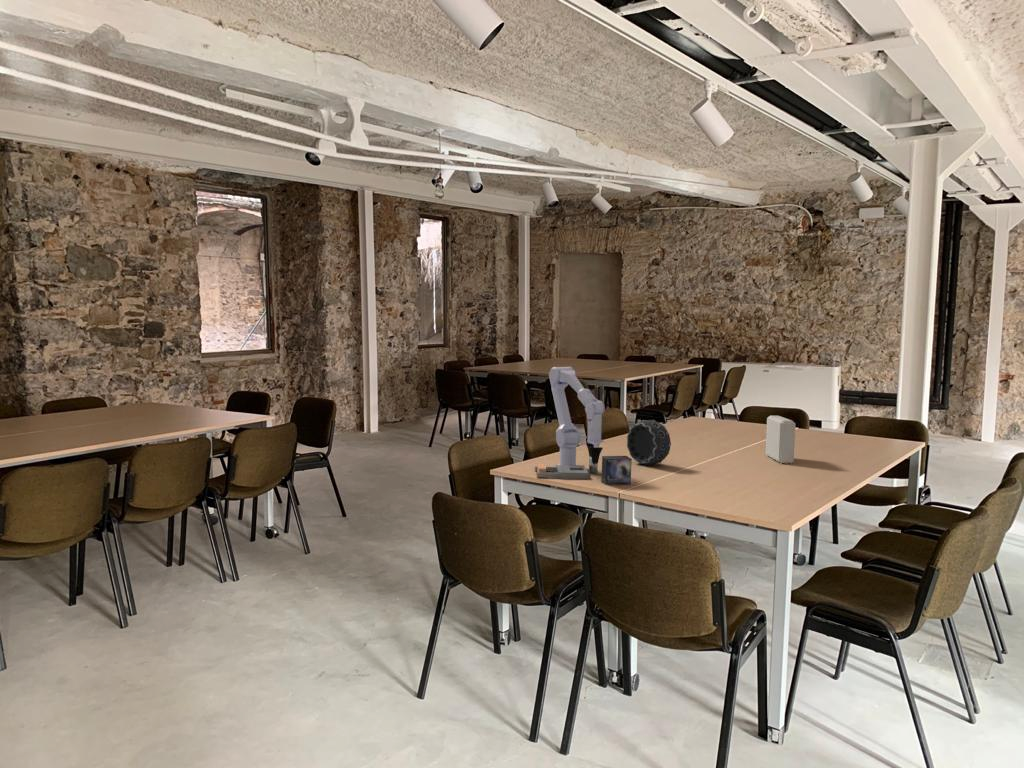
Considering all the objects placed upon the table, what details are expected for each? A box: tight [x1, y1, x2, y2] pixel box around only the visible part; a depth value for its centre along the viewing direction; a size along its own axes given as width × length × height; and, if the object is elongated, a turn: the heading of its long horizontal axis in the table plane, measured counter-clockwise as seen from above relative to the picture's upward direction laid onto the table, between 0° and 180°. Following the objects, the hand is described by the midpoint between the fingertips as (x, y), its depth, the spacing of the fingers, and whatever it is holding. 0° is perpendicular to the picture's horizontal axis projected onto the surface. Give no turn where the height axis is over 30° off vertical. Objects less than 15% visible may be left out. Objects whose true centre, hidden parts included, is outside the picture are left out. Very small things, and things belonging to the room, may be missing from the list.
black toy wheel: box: [626, 419, 672, 466], centre depth 337 cm, size 11×20×20 cm, turn 35°
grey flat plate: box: [534, 464, 590, 480], centre depth 312 cm, size 16×21×2 cm
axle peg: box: [588, 456, 599, 475], centre depth 315 cm, size 4×4×7 cm
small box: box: [600, 455, 633, 485], centre depth 297 cm, size 11×6×10 cm, turn 101°
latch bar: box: [536, 463, 547, 473], centre depth 311 cm, size 10×3×4 cm, turn 1°
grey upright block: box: [765, 415, 796, 464], centre depth 354 cm, size 21×8×20 cm, turn 179°
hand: (593, 461), depth 315 cm, fingers open, 7 cm apart
